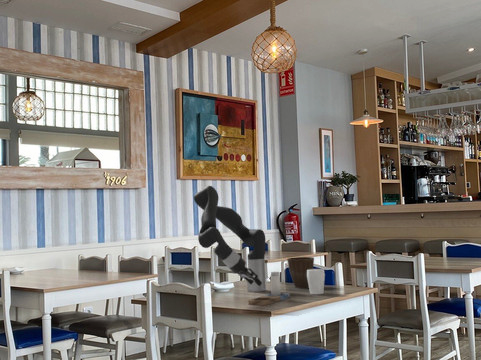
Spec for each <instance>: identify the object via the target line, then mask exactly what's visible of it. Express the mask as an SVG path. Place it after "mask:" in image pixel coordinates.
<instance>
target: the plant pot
mask: <svg viewBox="0 0 481 360" xmlns="http://www.w3.org/2000/svg"><path fill="white" fill-rule="evenodd" d="M286 260H287V265H288V270H289V274H290V276H291V280H292V282H293V285H294V287H295V288H296V289H306V288H309V285H308V279H307V270H309V269H314V263H315V257H310V256H309V257H308V256H303V257H302V256H301V257H300V256H299V257H290V258H287V259H286Z"/></svg>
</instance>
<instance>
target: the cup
mask: <svg viewBox="0 0 481 360" xmlns="http://www.w3.org/2000/svg"><path fill="white" fill-rule="evenodd" d="M325 277H326V274H325V269H324V268H313V269H309V270H307V279H308V285H309V287H308V288H309V289H308V290H309V293H310V295H323V294H324V289H325Z"/></svg>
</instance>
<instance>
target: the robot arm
mask: <svg viewBox="0 0 481 360" xmlns="http://www.w3.org/2000/svg"><path fill="white" fill-rule="evenodd" d="M193 200H194V203H195V204H196V205H197V206H198V207H199V208H200V209H202V210H203V212H202V215H201V219H200V221H201V222H200V223H201V227H200V229H199V233H198V242H199V243H198V244H199V245H200V246H201V247H202V248H204V249H208V248H210V247H211V246H213V245H214V244H216V243H217V245H216V247H215V248H214V250H213V252H214V254H215V255H216V256H217V257H218V258H219V259H220V260H221V261H222V262H223V263H224V265H226V267H227V268H228V269H230V271H232V272H233V274H237V275H238V276H239V277H240V278H241V279H243V280H246V286H247V292H251V293H253V292H257V293H258V292H265V291H267V284H266V281H267V280H266V265H265V264H266V261H265V254H266V233H265V232H264V231H263V229H258V228H257V229H256V228H255V229H252V228H248V227H247V226H246V225H244V224H243V218H242V217H241V215H240V214H239V213H238V212H237V211H235V210H234V209H233V208H231V207H227V206H220V205H219V206H218V204H219V194H218V191H217V190H216V189H215V187H214V186H212V185H207V186H205V187H204V188H201V190H199V191H198V192H196V193H195V194H194V196H193ZM217 220H218V221H219V223H221V224H222V225H223V226H225V227H226V228H228V230H230V231H231V232H232V233H233V234H235V235H236V236H237V237H238V238H239V239H240V240H241V241H242V242H243V243H244V244H245V245H246V246H248V247H253V250H252V251H251V252H250V253H248V254H247V263H246V261H245V259H243V258H242V256H241V255H240V254H239V253H237V252H236V250H234V249H233V248H232V247H231V246H229V245H228V243H227V242H226V241H225V239H224V237H223V235H222V234H221V231H220V230H219V229H218V228H217ZM246 264H247V266H246Z"/></svg>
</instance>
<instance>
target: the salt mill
mask: <svg viewBox="0 0 481 360" xmlns="http://www.w3.org/2000/svg"><path fill="white" fill-rule="evenodd" d="M281 293H282V292H281V276H280V274H279V271H271V272H270V294H271V296H281Z"/></svg>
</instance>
